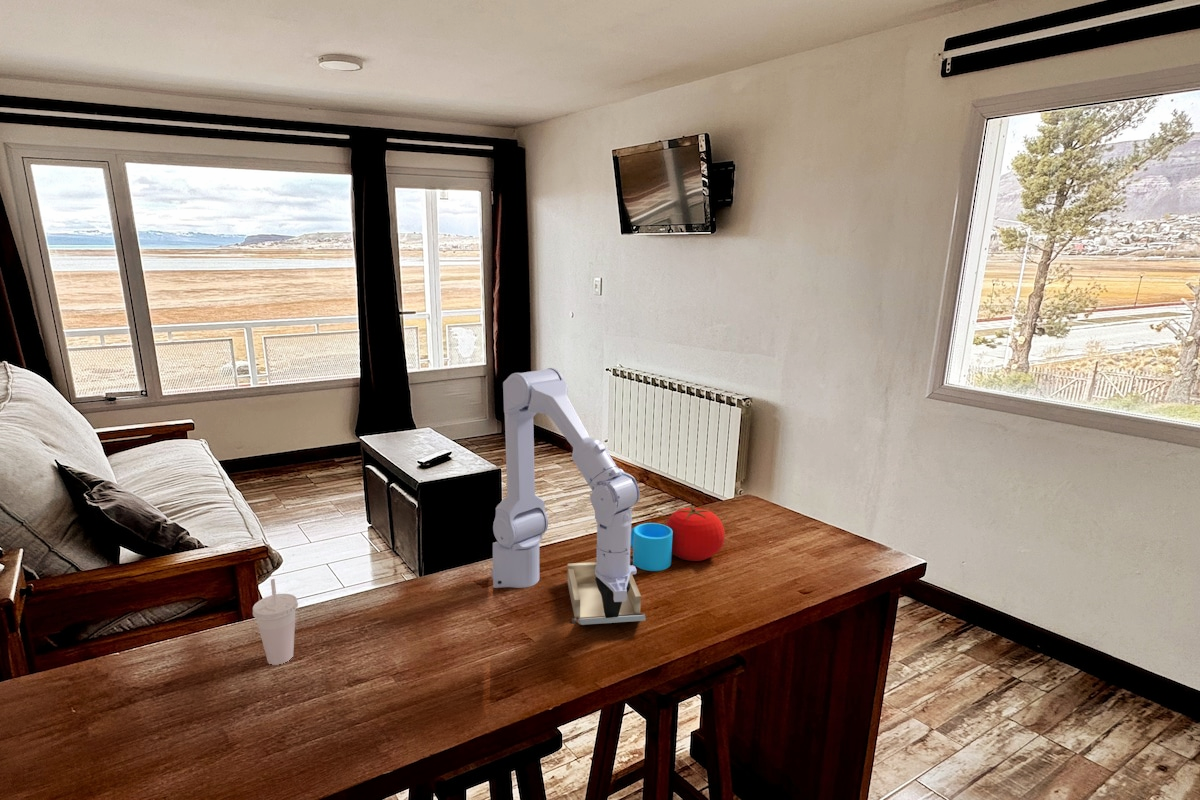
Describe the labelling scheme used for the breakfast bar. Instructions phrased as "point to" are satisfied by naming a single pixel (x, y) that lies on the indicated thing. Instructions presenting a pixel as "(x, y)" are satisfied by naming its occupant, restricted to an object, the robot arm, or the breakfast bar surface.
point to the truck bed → (595, 593)
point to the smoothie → (277, 625)
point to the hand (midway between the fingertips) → (611, 617)
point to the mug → (652, 546)
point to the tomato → (695, 533)
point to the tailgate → (611, 619)
